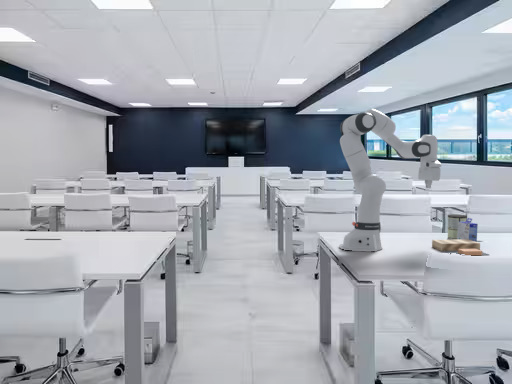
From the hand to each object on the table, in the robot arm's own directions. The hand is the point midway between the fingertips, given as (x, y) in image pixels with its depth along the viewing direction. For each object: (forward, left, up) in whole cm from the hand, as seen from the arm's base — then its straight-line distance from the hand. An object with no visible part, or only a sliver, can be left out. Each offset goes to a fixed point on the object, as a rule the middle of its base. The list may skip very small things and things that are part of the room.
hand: (428, 188), depth 237 cm
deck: (+7, -18, -31) cm, 37 cm away
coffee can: (+23, +11, -31) cm, 40 cm away
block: (+7, -32, -29) cm, 44 cm away
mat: (+7, -29, -31) cm, 43 cm away
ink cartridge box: (+20, -6, -31) cm, 38 cm away
